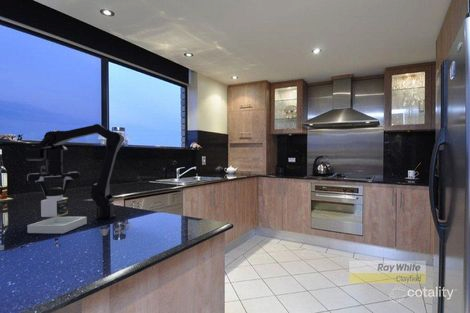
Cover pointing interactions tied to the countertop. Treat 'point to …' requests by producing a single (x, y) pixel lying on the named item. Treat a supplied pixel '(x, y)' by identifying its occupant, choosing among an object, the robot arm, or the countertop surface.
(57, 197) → the medicine bottle
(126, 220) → the countertop surface
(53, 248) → the countertop surface
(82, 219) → the grey square tray
